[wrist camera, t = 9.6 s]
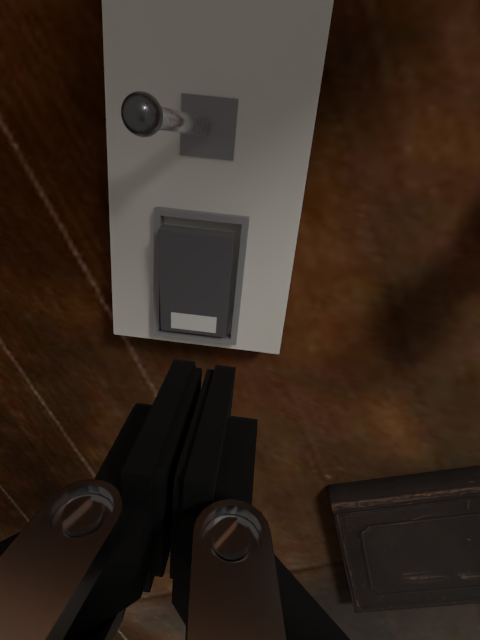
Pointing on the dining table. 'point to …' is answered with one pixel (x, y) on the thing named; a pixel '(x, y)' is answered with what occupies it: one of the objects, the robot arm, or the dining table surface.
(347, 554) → the hardcover book
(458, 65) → the dining table surface
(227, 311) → the panel
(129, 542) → the robot arm
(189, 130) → the toggle lever
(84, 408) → the dining table surface
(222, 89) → the control panel
